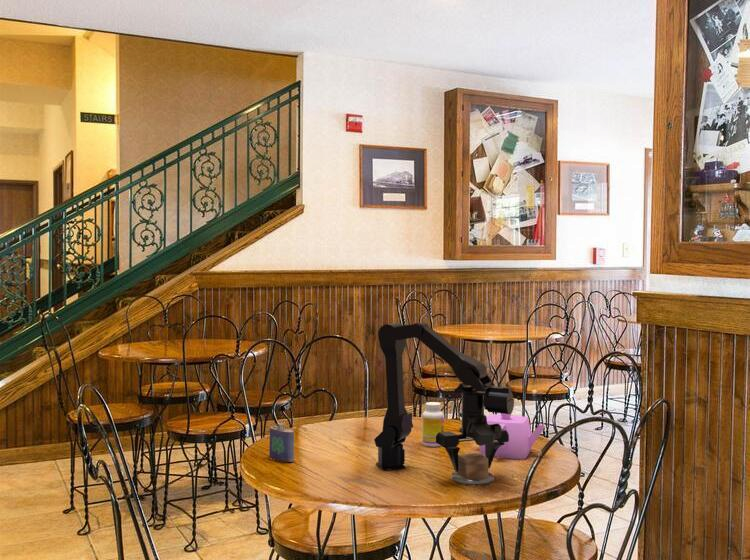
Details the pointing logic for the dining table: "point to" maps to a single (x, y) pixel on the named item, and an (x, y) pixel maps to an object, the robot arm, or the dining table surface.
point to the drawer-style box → (472, 466)
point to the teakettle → (514, 436)
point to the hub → (476, 482)
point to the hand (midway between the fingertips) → (472, 469)
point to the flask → (281, 443)
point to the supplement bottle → (432, 424)
